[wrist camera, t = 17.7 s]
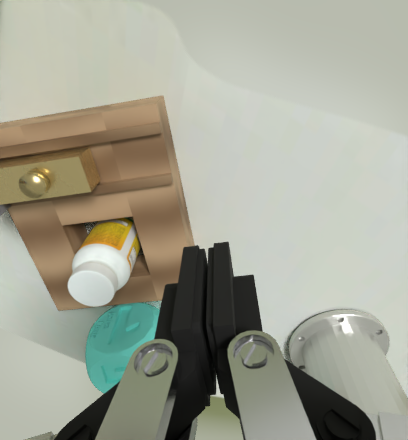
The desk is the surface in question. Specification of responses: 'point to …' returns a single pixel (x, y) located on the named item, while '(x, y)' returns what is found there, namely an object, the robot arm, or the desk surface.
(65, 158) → the latch bar
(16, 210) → the socket block
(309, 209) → the desk surface
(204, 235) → the desk surface
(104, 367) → the decorative dice
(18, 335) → the desk surface
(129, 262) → the supplement bottle
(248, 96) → the desk surface
